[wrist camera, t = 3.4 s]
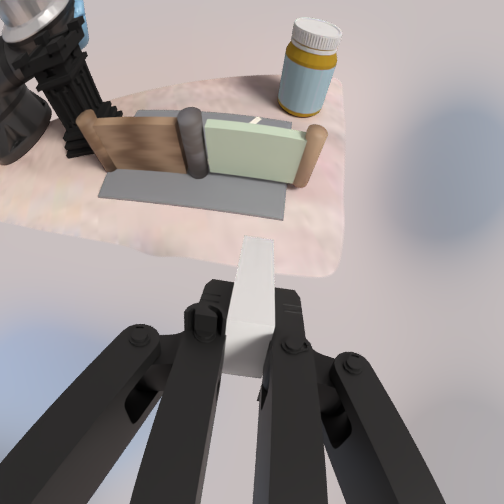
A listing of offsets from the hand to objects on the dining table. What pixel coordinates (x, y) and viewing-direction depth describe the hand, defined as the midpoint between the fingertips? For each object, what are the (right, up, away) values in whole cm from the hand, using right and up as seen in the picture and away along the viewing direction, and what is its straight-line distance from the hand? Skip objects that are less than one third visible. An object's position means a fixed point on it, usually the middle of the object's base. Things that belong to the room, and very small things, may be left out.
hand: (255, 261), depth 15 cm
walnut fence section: (-13, +11, +19) cm, 26 cm away
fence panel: (+1, +10, +18) cm, 20 cm away
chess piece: (-25, +19, +21) cm, 38 cm away
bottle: (+7, +24, +25) cm, 35 cm away
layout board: (-7, +13, +20) cm, 25 cm away
